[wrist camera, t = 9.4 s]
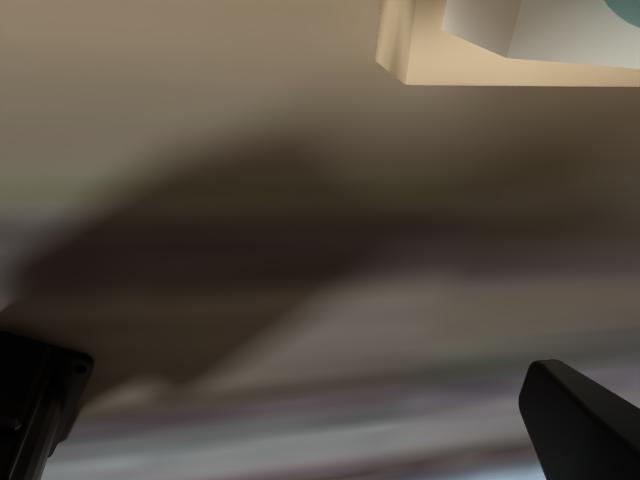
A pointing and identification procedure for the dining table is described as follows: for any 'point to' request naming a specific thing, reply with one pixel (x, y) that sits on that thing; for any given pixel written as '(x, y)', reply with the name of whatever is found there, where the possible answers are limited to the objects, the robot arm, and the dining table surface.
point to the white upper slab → (546, 30)
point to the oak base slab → (470, 55)
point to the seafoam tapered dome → (626, 10)
